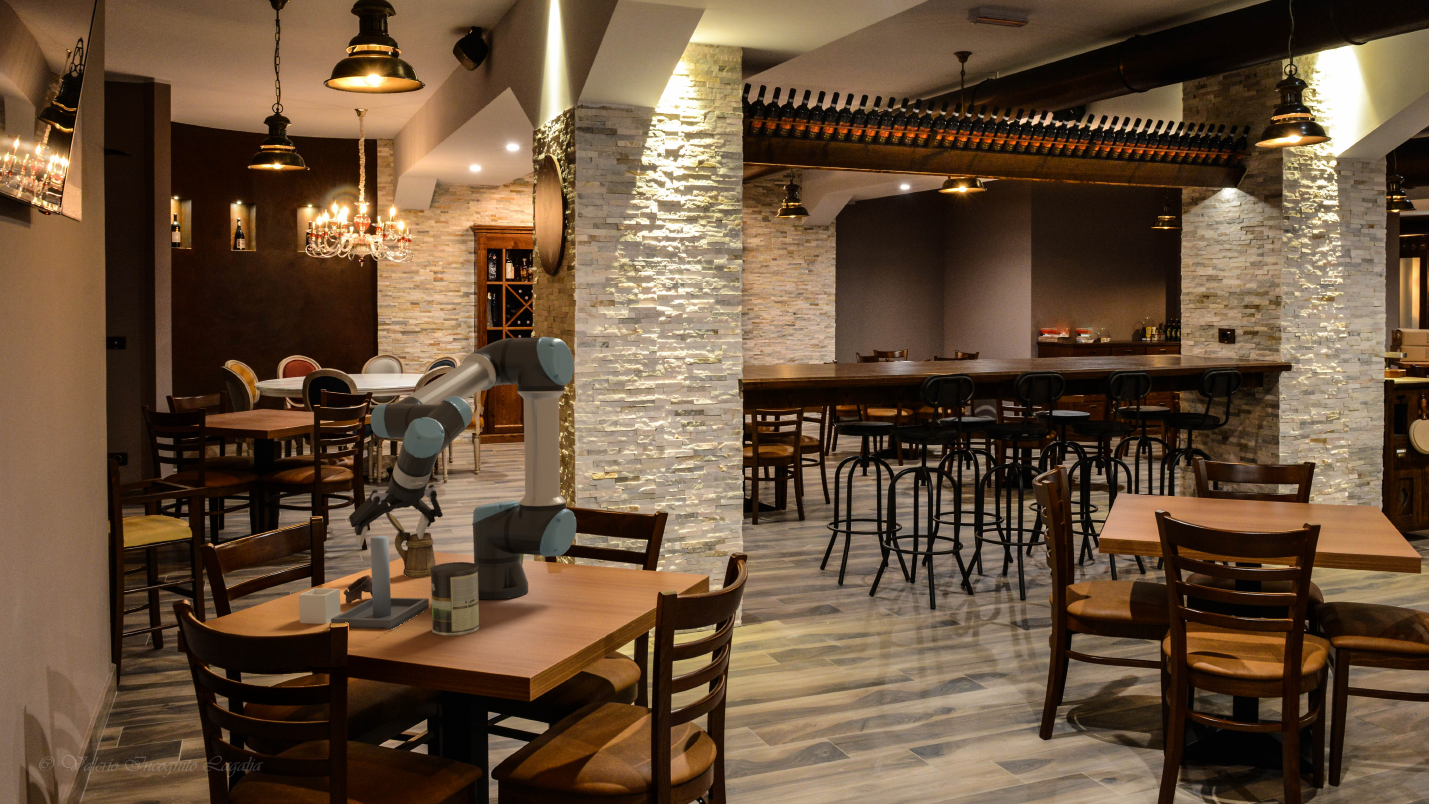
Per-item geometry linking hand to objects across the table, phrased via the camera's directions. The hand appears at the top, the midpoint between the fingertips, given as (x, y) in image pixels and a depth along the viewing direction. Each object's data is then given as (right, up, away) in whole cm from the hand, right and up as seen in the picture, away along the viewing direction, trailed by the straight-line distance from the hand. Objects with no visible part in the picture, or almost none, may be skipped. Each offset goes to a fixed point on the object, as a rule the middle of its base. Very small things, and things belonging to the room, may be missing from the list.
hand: (389, 537), depth 231 cm
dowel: (-4, -19, +6) cm, 20 cm away
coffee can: (+16, -20, -4) cm, 26 cm away
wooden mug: (-11, -18, +54) cm, 58 cm away
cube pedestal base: (-17, -20, +4) cm, 27 cm away
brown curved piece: (-11, -19, +21) cm, 31 cm away
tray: (-4, -20, +6) cm, 21 cm away
